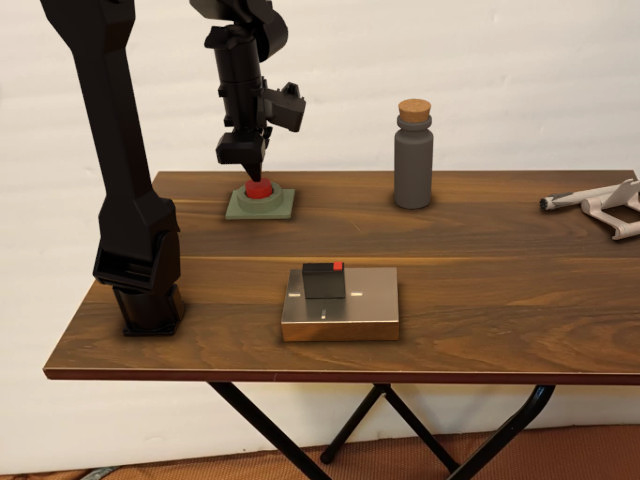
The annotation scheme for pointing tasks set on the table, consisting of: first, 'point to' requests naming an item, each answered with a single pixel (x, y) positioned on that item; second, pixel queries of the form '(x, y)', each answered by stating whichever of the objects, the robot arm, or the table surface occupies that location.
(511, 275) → the table surface
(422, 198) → the bottle
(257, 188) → the button
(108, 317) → the table surface
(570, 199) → the rocket model
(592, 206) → the tablet stand
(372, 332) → the panel
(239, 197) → the switch block
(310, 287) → the stove knob
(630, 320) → the table surface
